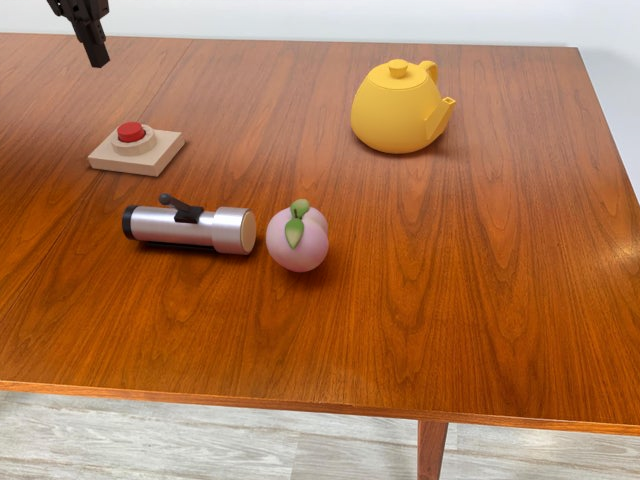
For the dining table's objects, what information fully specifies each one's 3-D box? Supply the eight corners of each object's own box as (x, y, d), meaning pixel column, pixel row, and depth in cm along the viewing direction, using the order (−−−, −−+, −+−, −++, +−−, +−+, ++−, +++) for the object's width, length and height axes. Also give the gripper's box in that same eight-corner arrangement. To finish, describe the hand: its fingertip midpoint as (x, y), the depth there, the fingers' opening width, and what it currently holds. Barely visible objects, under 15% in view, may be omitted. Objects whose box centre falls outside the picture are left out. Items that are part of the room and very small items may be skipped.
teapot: (332, 133, 103) (325, 64, 94) (404, 94, 112) (404, 27, 103) (416, 179, 93) (418, 106, 84) (487, 132, 103) (496, 62, 93)
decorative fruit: (273, 245, 83) (261, 189, 76) (330, 240, 84) (323, 184, 76) (271, 293, 77) (257, 236, 69) (333, 287, 77) (326, 231, 70)
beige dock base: (92, 168, 97) (82, 147, 94) (123, 136, 104) (115, 116, 101) (157, 176, 95) (149, 156, 92) (184, 143, 102) (178, 123, 99)
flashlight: (129, 254, 82) (113, 219, 78) (148, 225, 87) (133, 190, 82) (247, 264, 81) (237, 229, 76) (260, 234, 85) (252, 199, 80)
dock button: (115, 142, 96) (111, 133, 95) (128, 129, 99) (124, 120, 97) (137, 145, 95) (134, 135, 94) (149, 132, 98) (146, 123, 97)
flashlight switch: (180, 214, 79) (155, 203, 72) (181, 202, 79) (157, 190, 72) (191, 215, 79) (167, 204, 72) (192, 203, 79) (169, 191, 72)
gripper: (96, -127, 73) (152, 57, 90) (5, -132, 75) (77, 49, 92) (60, -112, 68) (126, 79, 85) (-36, -117, 70) (48, 70, 87)
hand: (101, 63), depth 88 cm, fingers closed
